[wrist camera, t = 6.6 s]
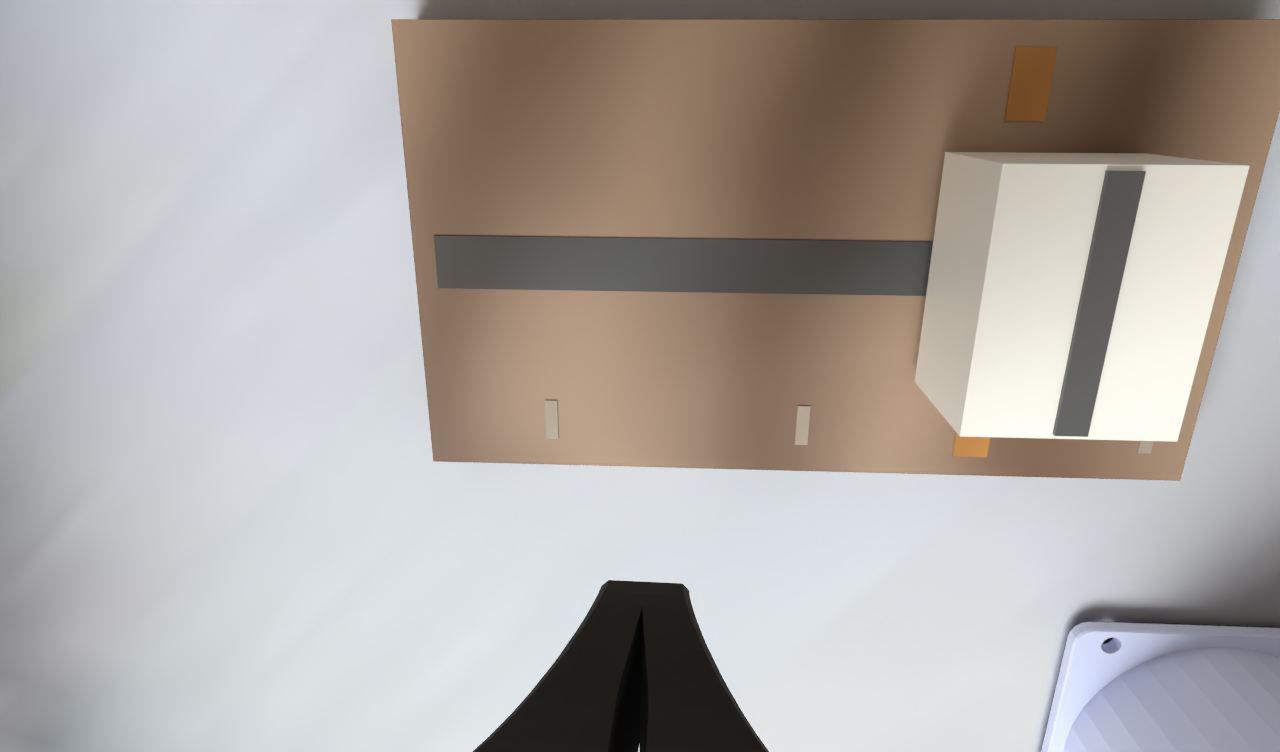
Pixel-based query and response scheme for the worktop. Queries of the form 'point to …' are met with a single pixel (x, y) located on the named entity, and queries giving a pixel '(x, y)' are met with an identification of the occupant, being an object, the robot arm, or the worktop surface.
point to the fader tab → (1073, 291)
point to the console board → (763, 223)
